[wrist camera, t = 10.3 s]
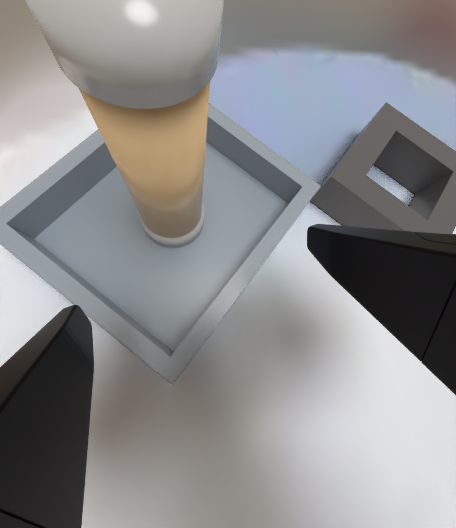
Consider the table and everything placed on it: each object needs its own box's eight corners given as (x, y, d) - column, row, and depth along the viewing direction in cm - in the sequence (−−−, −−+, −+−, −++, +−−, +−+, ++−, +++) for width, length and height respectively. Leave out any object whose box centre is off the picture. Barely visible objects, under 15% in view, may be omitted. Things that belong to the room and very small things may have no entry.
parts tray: (176, 372, 16) (172, 385, 13) (20, 245, 17) (-23, 225, 13) (300, 208, 21) (321, 185, 17) (172, 113, 21) (168, 73, 18)
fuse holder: (400, 268, 20) (440, 257, 17) (309, 200, 21) (331, 176, 18) (440, 192, 23) (482, 170, 20) (358, 134, 24) (386, 102, 20)
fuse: (200, 251, 17) (216, 61, 5) (138, 244, 17) (-20, 16, 4) (206, 197, 19) (230, -69, 6) (147, 189, 18) (43, -118, 6)
